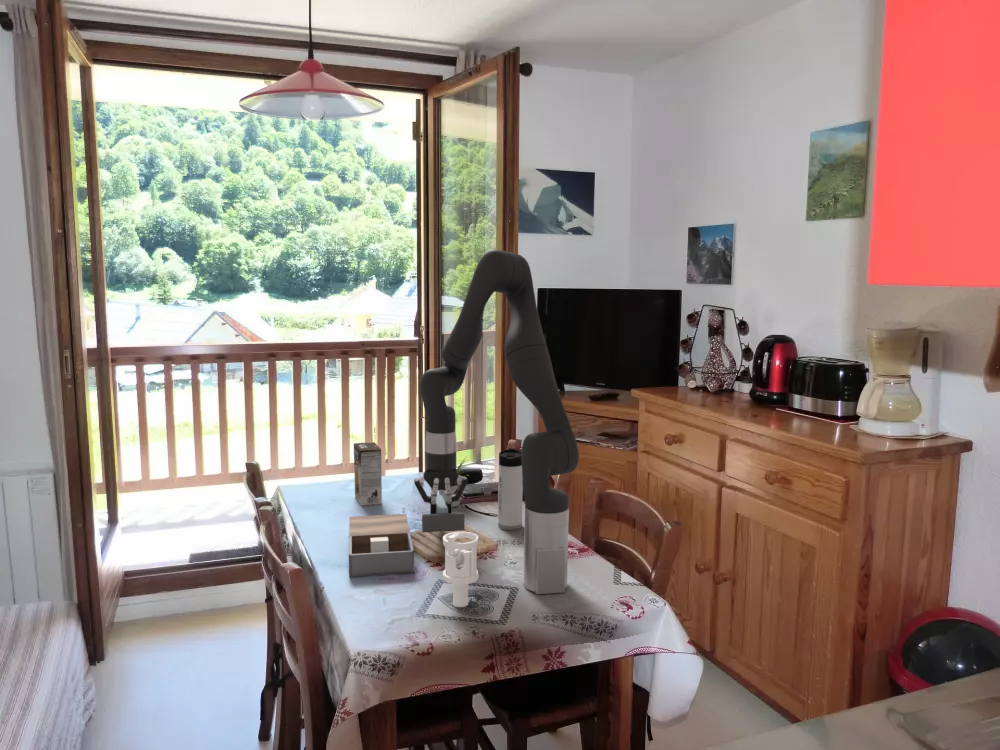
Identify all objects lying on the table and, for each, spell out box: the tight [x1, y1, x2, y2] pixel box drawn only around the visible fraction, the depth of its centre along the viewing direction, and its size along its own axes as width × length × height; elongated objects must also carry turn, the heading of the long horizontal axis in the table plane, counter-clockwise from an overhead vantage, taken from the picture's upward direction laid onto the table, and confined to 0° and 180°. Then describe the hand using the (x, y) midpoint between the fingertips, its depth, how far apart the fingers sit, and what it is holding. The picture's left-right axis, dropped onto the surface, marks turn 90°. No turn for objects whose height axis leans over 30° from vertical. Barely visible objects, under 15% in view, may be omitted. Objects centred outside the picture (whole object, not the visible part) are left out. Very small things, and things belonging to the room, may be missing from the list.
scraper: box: [421, 494, 466, 533], centre depth 190 cm, size 16×10×5 cm, turn 10°
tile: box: [370, 537, 389, 553], centre depth 177 cm, size 4×4×2 cm
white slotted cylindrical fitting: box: [442, 530, 479, 608], centre depth 153 cm, size 7×7×15 cm
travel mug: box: [497, 448, 523, 531], centre depth 199 cm, size 6×7×20 cm
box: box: [348, 532, 415, 578], centre depth 173 cm, size 12×14×5 cm
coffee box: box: [353, 441, 383, 507], centre depth 220 cm, size 9×6×16 cm
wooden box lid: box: [348, 513, 411, 554], centre depth 186 cm, size 14×14×5 cm
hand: (440, 517), depth 189 cm, fingers closed on scraper, 2 cm apart
